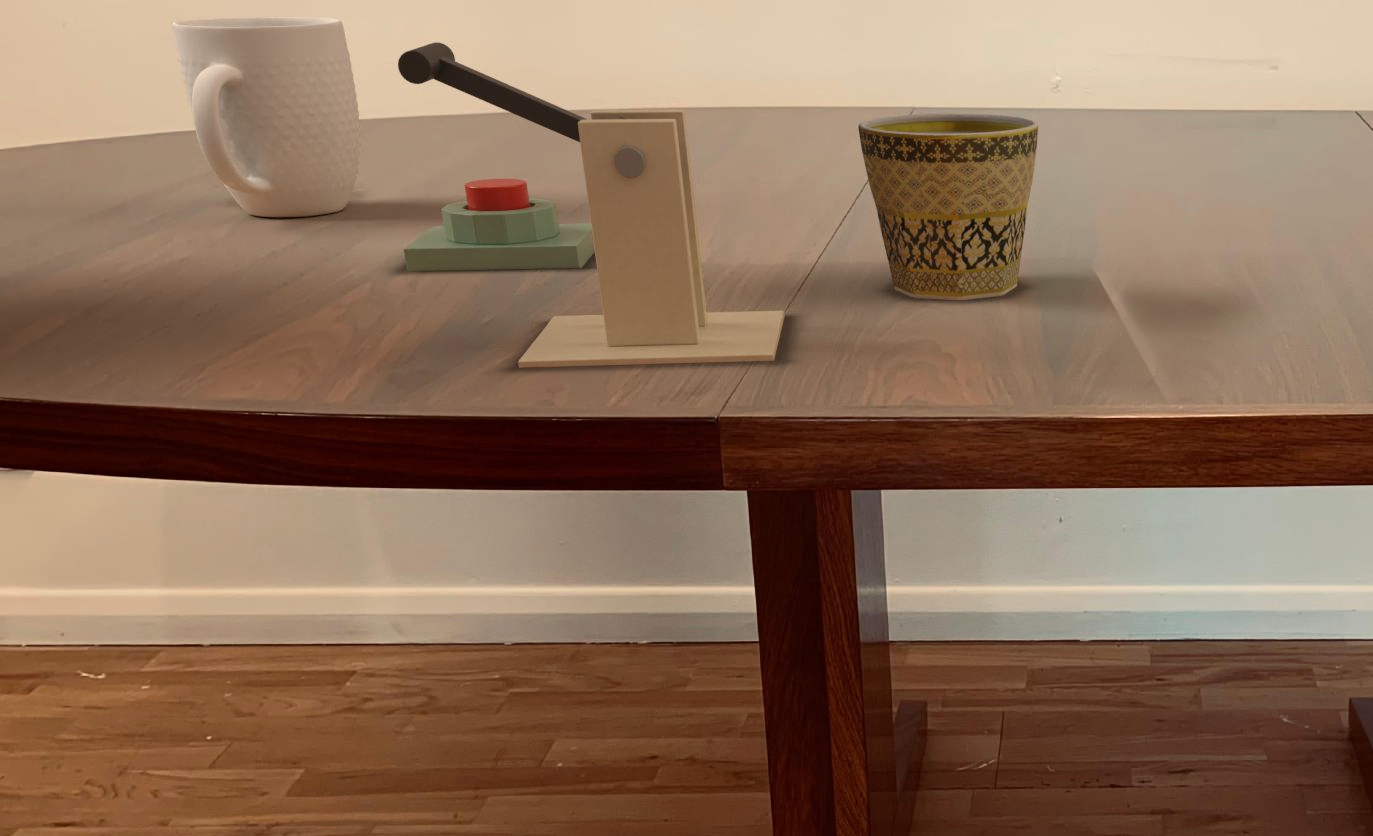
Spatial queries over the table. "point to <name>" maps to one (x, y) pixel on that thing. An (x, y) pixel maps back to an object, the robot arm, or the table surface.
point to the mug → (274, 110)
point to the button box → (501, 240)
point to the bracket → (647, 258)
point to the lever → (485, 88)
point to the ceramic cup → (951, 199)
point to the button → (497, 195)
